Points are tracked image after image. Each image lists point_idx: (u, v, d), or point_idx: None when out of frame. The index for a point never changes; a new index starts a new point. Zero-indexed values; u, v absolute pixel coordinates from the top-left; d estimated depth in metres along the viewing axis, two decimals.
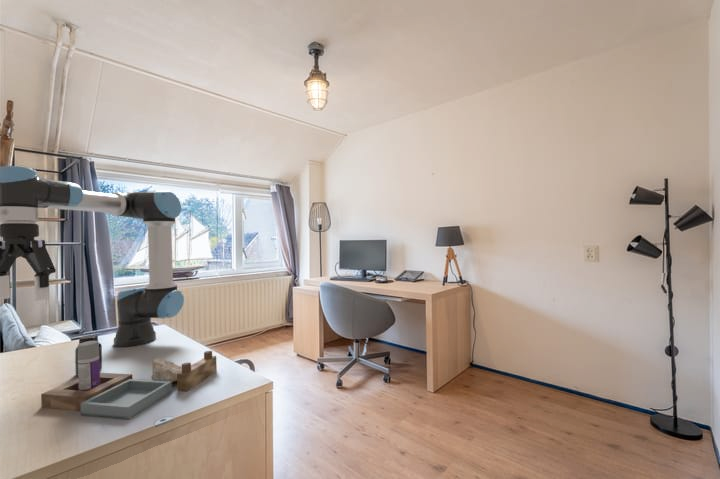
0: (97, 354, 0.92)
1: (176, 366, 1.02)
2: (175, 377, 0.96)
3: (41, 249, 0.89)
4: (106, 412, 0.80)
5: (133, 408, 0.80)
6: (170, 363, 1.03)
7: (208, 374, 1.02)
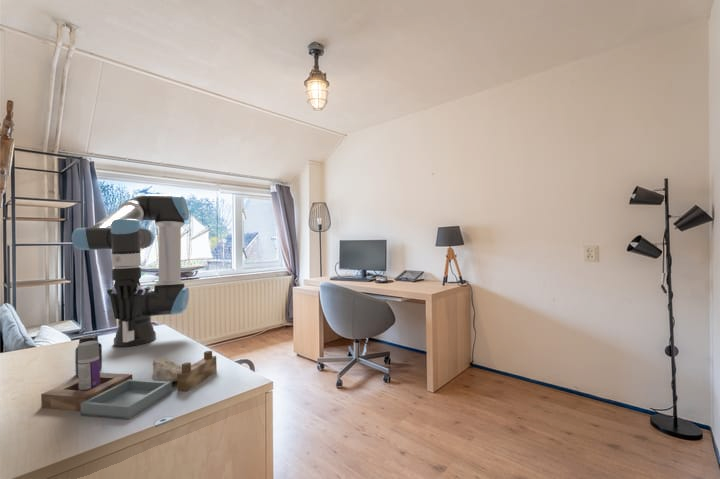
0: (97, 354, 0.92)
1: (176, 366, 1.02)
2: (175, 377, 0.96)
3: (141, 297, 1.03)
4: (106, 412, 0.80)
5: (133, 408, 0.80)
6: (171, 363, 1.03)
7: (208, 374, 1.02)
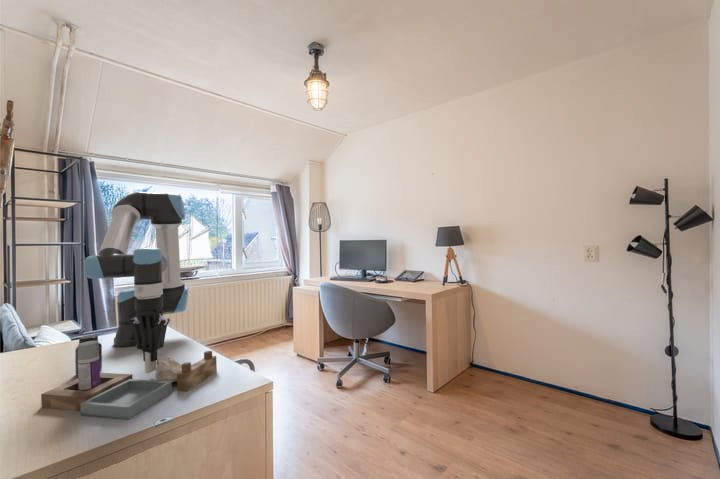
0: (97, 354, 0.92)
1: (179, 366, 1.02)
2: (176, 377, 0.96)
3: (163, 328, 1.02)
4: (106, 412, 0.80)
5: (133, 408, 0.80)
6: (173, 362, 1.03)
7: (208, 374, 1.02)
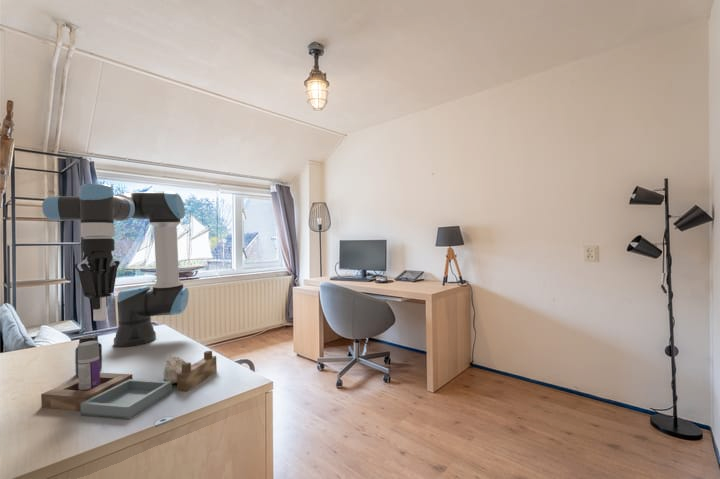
0: (97, 354, 0.92)
1: None
2: None
3: (82, 273, 0.88)
4: (106, 412, 0.80)
5: (133, 408, 0.80)
6: (182, 362, 1.04)
7: (208, 374, 1.02)
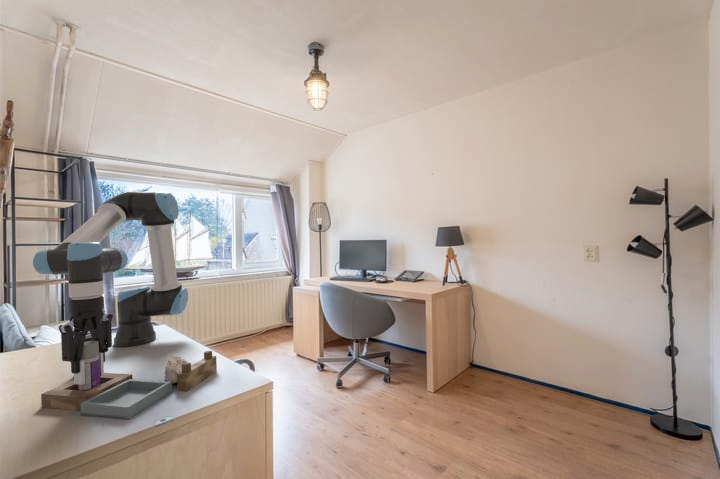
0: (97, 354, 0.92)
1: None
2: None
3: (64, 336, 0.85)
4: (106, 412, 0.80)
5: (133, 408, 0.80)
6: (183, 362, 1.04)
7: (208, 374, 1.02)
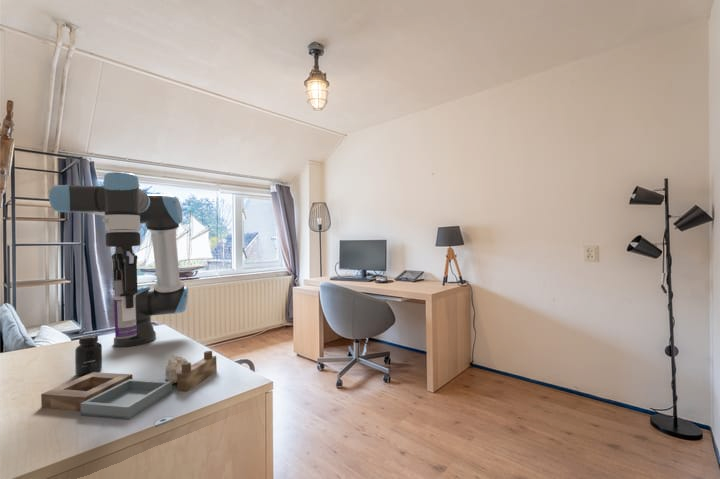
0: None
1: None
2: None
3: (131, 266, 0.83)
4: (106, 412, 0.80)
5: (133, 408, 0.80)
6: (183, 362, 1.04)
7: (208, 374, 1.02)
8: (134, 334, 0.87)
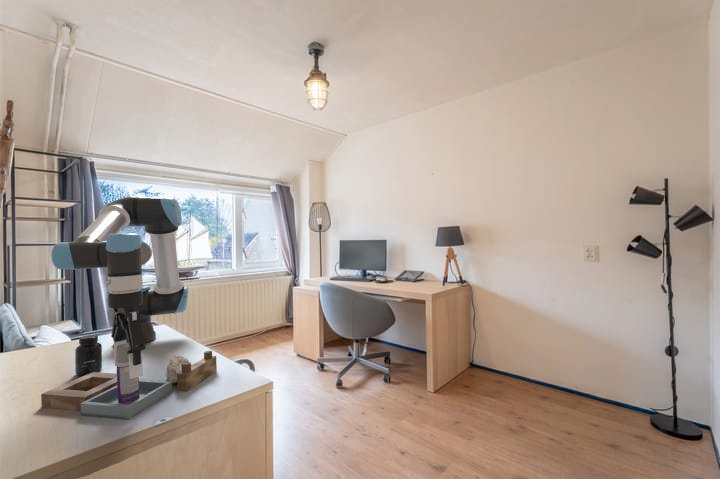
0: None
1: None
2: None
3: (135, 323, 0.82)
4: (106, 412, 0.80)
5: (133, 408, 0.80)
6: (184, 362, 1.04)
7: (208, 374, 1.02)
8: (137, 399, 0.87)
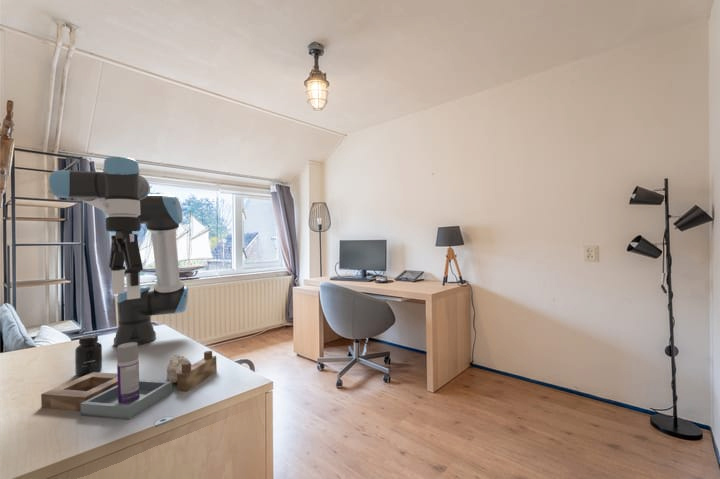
0: None
1: None
2: None
3: (132, 244, 0.82)
4: (106, 412, 0.80)
5: (133, 408, 0.80)
6: (185, 361, 1.04)
7: (208, 374, 1.02)
8: (137, 399, 0.87)
